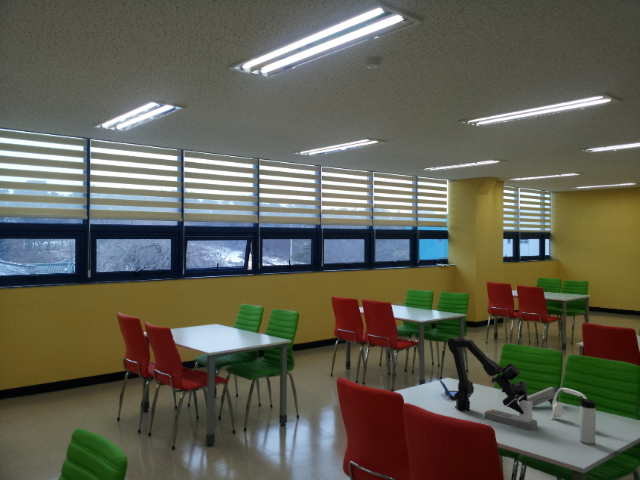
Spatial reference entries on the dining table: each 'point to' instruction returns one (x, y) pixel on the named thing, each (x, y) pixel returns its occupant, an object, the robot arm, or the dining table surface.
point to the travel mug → (587, 421)
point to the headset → (558, 407)
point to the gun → (543, 396)
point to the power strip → (509, 419)
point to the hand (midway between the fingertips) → (527, 411)
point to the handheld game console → (449, 393)
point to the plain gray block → (526, 411)
